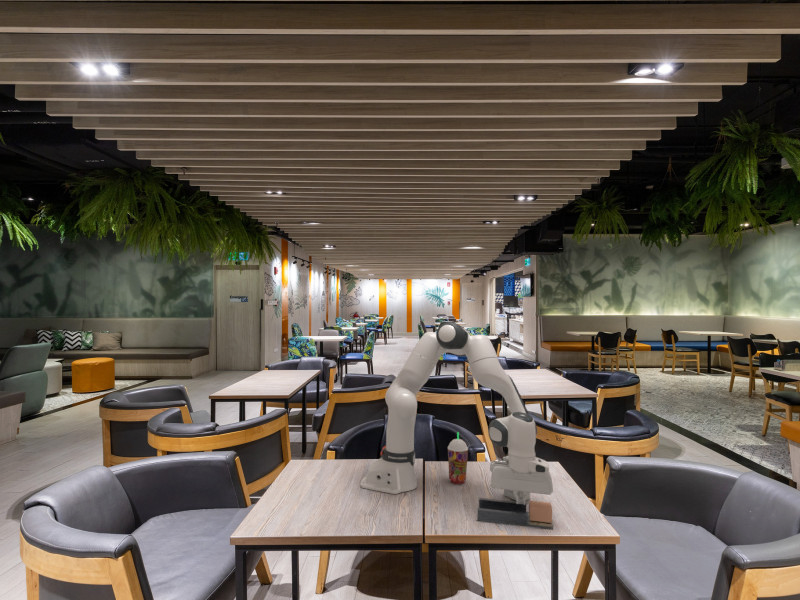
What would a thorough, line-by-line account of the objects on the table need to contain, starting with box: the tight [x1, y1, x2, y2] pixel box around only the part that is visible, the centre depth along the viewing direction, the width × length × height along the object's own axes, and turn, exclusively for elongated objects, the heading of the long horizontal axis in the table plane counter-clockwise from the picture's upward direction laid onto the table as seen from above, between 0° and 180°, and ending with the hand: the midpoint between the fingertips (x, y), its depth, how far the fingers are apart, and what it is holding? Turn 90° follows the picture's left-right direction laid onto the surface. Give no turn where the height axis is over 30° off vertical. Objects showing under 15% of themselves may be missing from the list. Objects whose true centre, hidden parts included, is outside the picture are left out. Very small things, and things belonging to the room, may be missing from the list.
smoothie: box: [447, 431, 469, 485], centre depth 187 cm, size 8×8×20 cm
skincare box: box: [502, 455, 531, 502], centre depth 172 cm, size 8×6×15 cm
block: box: [528, 499, 553, 524], centre depth 152 cm, size 7×5×4 cm
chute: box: [476, 497, 554, 530], centre depth 154 cm, size 24×10×4 cm, turn 77°
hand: (520, 503), depth 153 cm, fingers closed
